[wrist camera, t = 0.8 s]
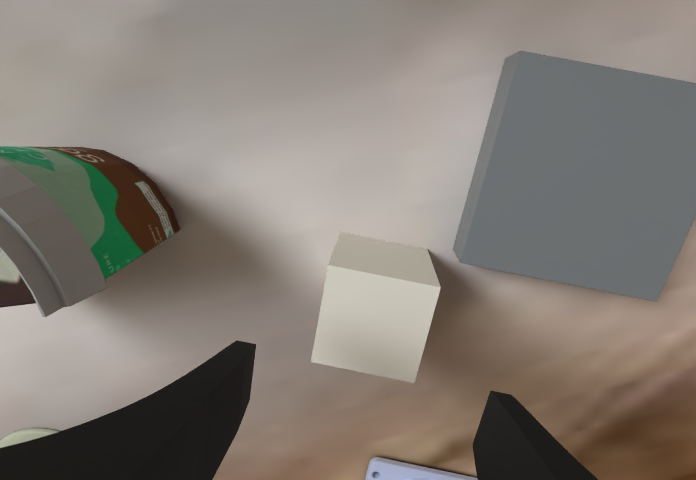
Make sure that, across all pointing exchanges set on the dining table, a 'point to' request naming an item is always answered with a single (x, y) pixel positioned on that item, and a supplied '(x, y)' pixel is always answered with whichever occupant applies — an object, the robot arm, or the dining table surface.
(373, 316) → the block
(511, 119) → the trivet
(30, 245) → the food container
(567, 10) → the dining table surface
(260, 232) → the dining table surface
